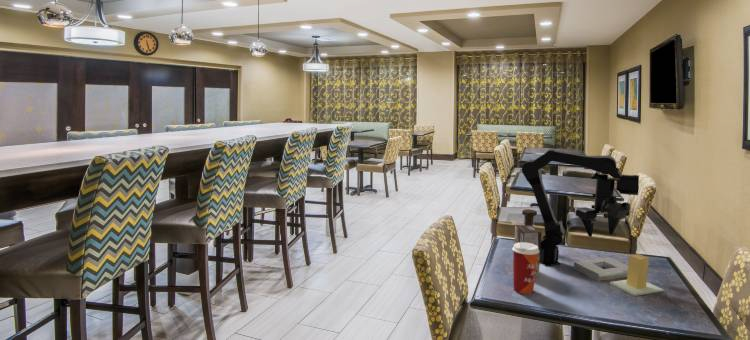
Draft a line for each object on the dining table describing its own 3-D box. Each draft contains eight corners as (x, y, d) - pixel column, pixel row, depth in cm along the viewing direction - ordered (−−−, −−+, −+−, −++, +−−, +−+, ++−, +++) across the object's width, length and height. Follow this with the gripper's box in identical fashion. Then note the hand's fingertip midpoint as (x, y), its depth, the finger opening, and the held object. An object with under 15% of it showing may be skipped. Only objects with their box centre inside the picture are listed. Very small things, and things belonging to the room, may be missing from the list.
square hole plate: (598, 281, 163) (598, 274, 163) (573, 268, 174) (573, 261, 174) (635, 275, 168) (635, 268, 168) (608, 263, 179) (609, 257, 179)
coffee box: (539, 277, 166) (542, 232, 163) (521, 277, 165) (524, 232, 163) (528, 267, 175) (531, 224, 172) (511, 267, 174) (514, 224, 172)
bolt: (533, 244, 200) (535, 209, 198) (535, 248, 196) (538, 212, 193) (518, 243, 201) (521, 209, 198) (521, 247, 196) (523, 212, 194)
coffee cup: (533, 298, 149) (536, 251, 147) (506, 292, 154) (509, 247, 151) (539, 288, 156) (542, 244, 154) (514, 283, 161) (516, 240, 158)
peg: (636, 288, 155) (639, 259, 154) (626, 284, 159) (629, 255, 158) (645, 287, 157) (649, 258, 155) (635, 282, 160) (638, 253, 159)
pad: (634, 296, 152) (634, 294, 151) (609, 283, 161) (609, 282, 161) (663, 291, 155) (663, 289, 155) (637, 279, 165) (637, 277, 164)
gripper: (600, 199, 157) (596, 244, 160) (644, 195, 163) (640, 239, 166) (576, 192, 168) (572, 235, 170) (618, 188, 174) (614, 230, 176)
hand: (600, 235), depth 170 cm, fingers open, 9 cm apart
